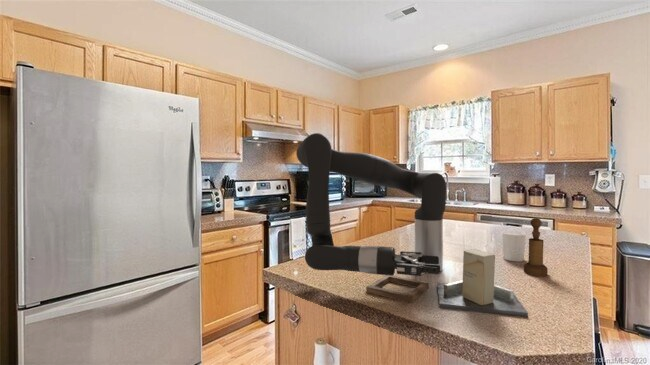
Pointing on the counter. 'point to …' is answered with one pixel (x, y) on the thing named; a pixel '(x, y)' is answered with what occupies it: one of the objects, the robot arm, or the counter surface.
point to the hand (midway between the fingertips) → (439, 264)
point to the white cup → (513, 245)
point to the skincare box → (478, 276)
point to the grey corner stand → (502, 304)
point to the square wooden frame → (408, 297)
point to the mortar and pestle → (535, 252)
